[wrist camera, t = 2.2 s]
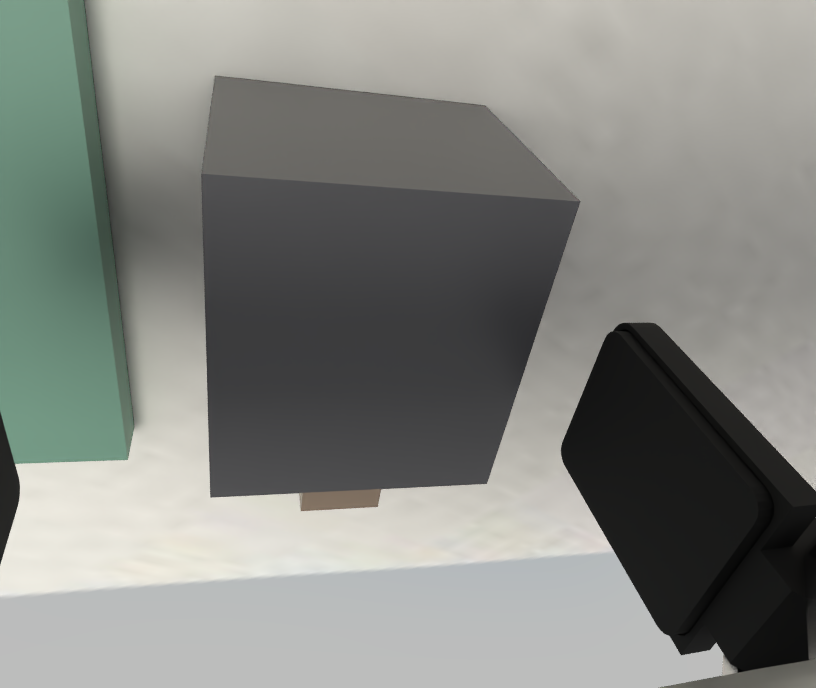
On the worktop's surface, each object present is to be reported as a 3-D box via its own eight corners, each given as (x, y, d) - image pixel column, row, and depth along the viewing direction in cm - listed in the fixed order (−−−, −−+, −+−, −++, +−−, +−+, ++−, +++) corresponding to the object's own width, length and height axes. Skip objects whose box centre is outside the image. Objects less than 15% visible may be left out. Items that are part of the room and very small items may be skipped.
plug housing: (485, 106, 14) (580, 201, 10) (420, 400, 19) (467, 543, 15) (215, 75, 12) (201, 173, 8) (219, 403, 17) (212, 562, 13)
